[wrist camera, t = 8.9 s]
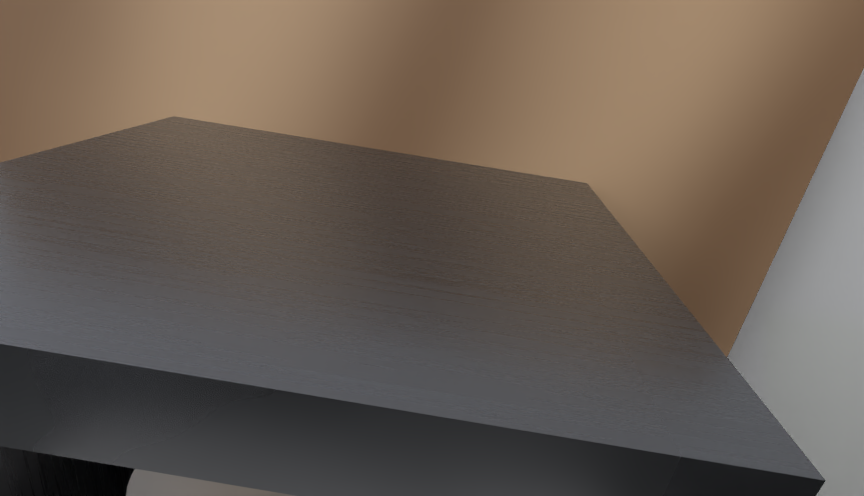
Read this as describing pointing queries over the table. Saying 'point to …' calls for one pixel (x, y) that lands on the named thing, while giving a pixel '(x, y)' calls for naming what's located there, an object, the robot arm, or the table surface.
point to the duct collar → (350, 330)
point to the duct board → (481, 105)
